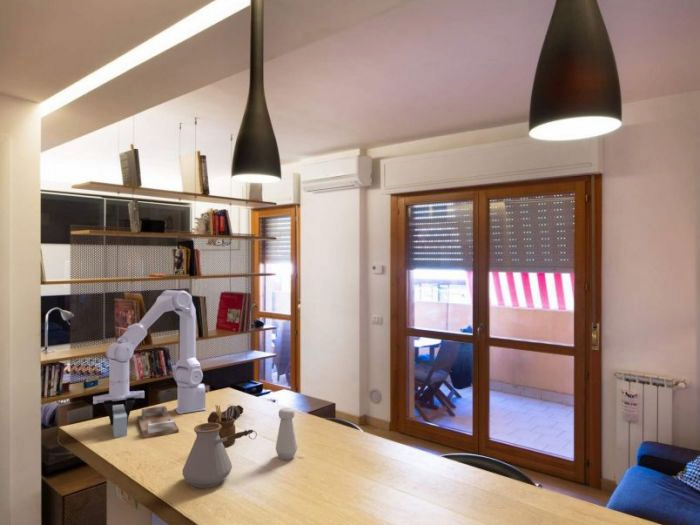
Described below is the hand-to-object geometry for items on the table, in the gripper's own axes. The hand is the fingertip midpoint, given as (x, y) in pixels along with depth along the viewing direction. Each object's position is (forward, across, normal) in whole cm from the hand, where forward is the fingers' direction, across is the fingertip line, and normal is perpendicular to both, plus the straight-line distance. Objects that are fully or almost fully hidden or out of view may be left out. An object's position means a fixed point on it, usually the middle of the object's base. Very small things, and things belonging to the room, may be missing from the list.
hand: (119, 423), depth 146 cm
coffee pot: (+2, +18, -55) cm, 58 cm away
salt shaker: (+2, +38, -47) cm, 60 cm away
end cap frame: (+2, +11, -2) cm, 11 cm away
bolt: (+2, +32, -10) cm, 34 cm away
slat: (+2, 0, 0) cm, 2 cm away
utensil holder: (+2, +26, -29) cm, 39 cm away
